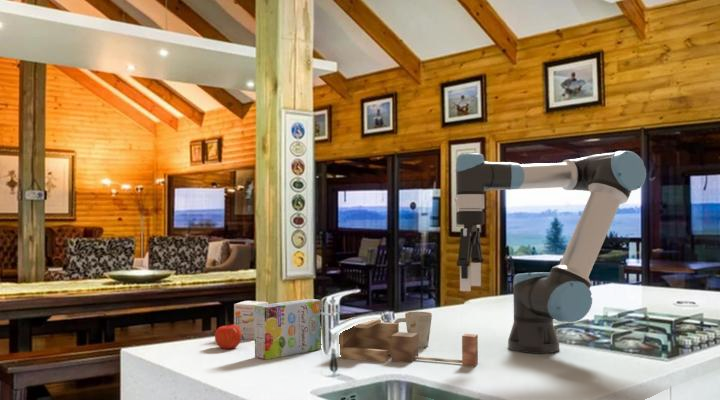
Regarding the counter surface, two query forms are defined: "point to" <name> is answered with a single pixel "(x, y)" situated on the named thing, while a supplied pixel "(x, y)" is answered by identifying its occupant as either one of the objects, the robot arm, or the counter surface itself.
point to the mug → (418, 325)
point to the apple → (228, 336)
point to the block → (407, 351)
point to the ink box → (246, 318)
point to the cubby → (368, 341)
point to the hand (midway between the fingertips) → (470, 288)
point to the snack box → (287, 328)
